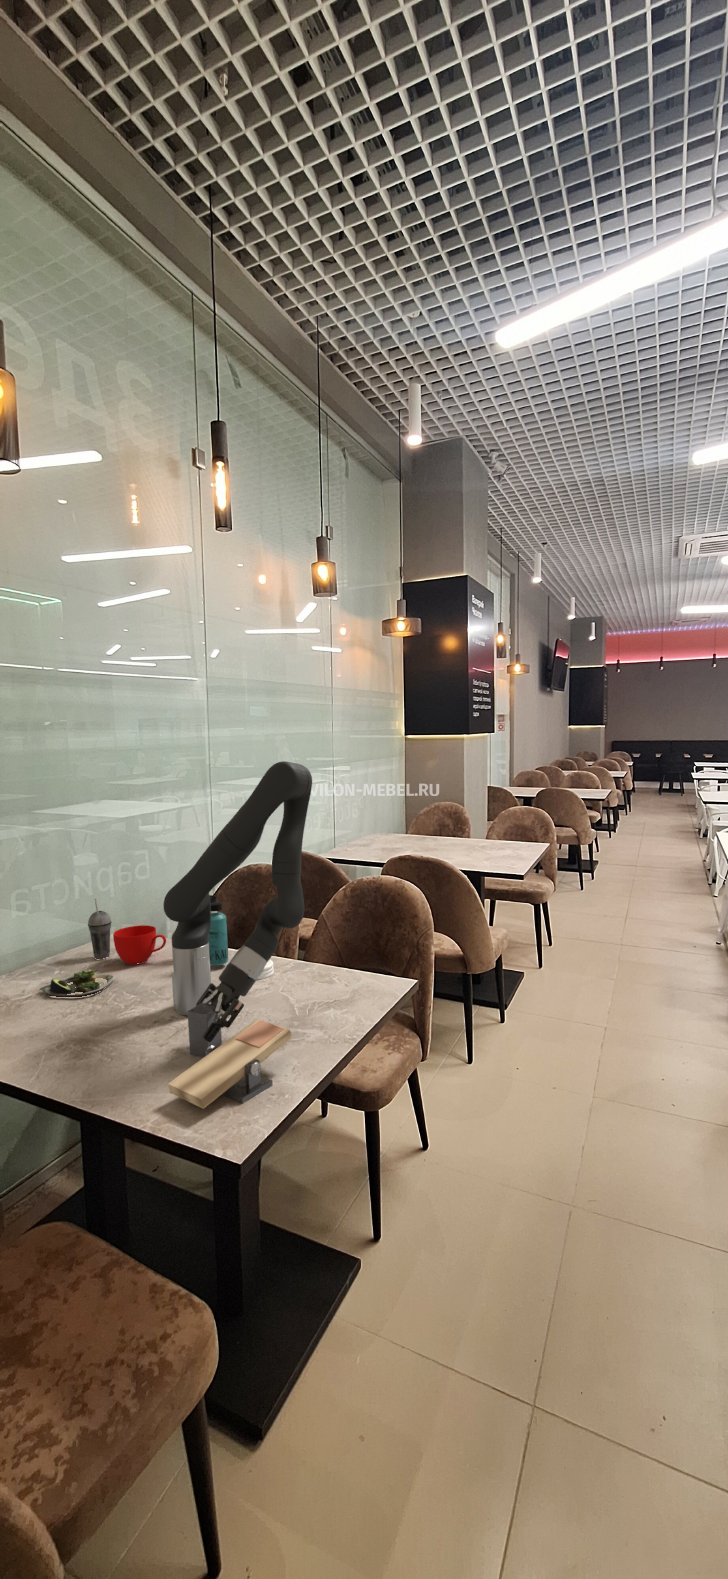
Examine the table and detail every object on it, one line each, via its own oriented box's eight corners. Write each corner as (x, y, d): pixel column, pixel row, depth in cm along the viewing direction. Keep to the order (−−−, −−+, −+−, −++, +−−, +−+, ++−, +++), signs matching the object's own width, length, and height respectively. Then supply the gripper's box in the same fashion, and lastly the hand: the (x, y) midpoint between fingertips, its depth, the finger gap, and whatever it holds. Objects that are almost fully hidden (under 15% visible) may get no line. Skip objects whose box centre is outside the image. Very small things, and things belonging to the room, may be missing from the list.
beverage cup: (118, 955, 220) (114, 895, 219) (103, 962, 214) (99, 901, 212) (100, 953, 223) (96, 894, 221) (85, 960, 216) (80, 900, 214)
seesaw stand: (195, 1082, 136) (194, 1053, 135) (226, 1066, 142) (224, 1038, 142) (242, 1103, 127) (241, 1072, 127) (272, 1085, 134) (271, 1055, 133)
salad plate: (74, 974, 204) (73, 959, 204) (128, 976, 201) (126, 961, 201) (32, 999, 185) (30, 983, 185) (89, 1001, 182) (88, 985, 182)
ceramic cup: (157, 969, 205) (155, 937, 204) (107, 968, 208) (104, 936, 207) (176, 955, 218) (174, 925, 217) (128, 954, 221) (126, 925, 220)
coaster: (273, 967, 204) (272, 956, 204) (274, 978, 194) (274, 967, 194) (240, 970, 202) (239, 959, 202) (239, 982, 192) (239, 970, 192)
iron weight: (190, 1055, 148) (187, 1011, 147) (203, 1045, 153) (201, 1002, 152) (208, 1058, 146) (206, 1014, 145) (222, 1048, 151) (219, 1005, 150)
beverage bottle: (209, 963, 209) (205, 901, 207) (230, 962, 209) (227, 899, 208) (205, 971, 202) (202, 906, 201) (228, 969, 203) (224, 905, 201)
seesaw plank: (169, 1092, 129) (167, 1082, 128) (258, 1027, 147) (256, 1018, 146) (203, 1108, 122) (201, 1098, 122) (291, 1038, 141) (289, 1029, 140)
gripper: (218, 954, 158) (174, 1016, 152) (247, 970, 147) (200, 1037, 141) (240, 971, 162) (197, 1031, 156) (269, 987, 150) (224, 1053, 144)
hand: (198, 1034), depth 148 cm, fingers open, 7 cm apart
